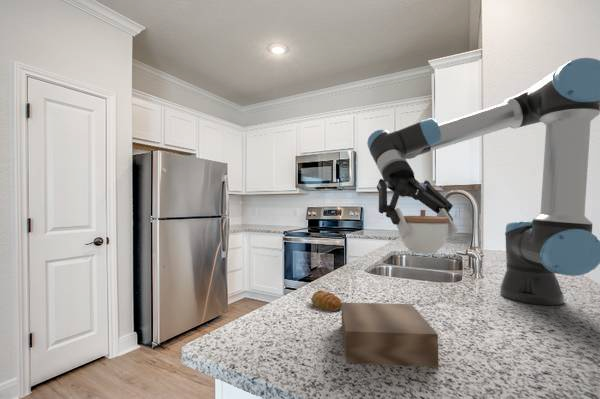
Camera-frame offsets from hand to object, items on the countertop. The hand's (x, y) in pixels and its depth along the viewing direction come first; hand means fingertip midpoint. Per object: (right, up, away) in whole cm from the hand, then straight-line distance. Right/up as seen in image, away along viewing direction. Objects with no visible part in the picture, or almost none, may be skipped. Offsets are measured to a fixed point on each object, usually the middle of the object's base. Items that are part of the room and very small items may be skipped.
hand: (430, 234), depth 63 cm
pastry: (-21, -23, +20) cm, 37 cm away
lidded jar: (0, -4, +3) cm, 5 cm away
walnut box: (-11, -22, -4) cm, 25 cm away
